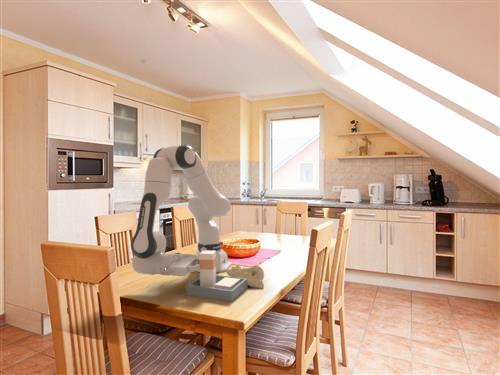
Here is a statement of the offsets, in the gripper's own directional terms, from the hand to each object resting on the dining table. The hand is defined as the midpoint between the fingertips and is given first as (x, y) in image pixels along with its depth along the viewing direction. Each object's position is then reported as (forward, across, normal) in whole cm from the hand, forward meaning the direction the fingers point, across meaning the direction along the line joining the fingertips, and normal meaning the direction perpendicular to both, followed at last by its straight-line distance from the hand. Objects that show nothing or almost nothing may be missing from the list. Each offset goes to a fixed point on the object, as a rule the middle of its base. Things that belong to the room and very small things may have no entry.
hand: (203, 265), depth 132 cm
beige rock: (+17, +8, +12) cm, 22 cm away
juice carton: (+2, 0, +10) cm, 11 cm away
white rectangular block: (+11, -2, +10) cm, 15 cm away
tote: (+6, -1, +11) cm, 13 cm away
